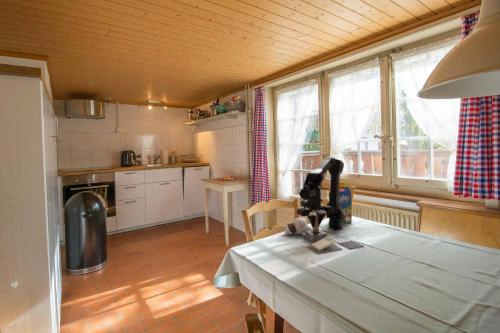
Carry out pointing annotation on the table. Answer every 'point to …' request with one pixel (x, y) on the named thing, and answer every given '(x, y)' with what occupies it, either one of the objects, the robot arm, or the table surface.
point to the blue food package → (345, 202)
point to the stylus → (316, 225)
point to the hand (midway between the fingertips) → (315, 227)
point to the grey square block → (314, 236)
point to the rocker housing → (325, 249)
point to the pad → (351, 244)
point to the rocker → (324, 243)
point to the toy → (297, 226)
